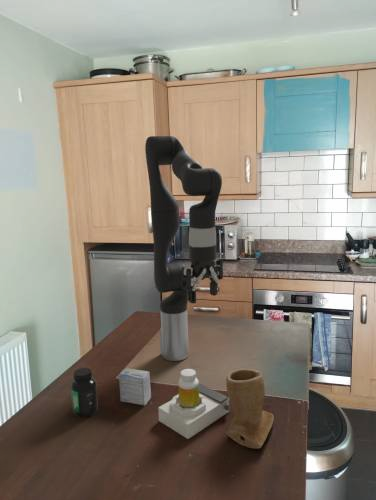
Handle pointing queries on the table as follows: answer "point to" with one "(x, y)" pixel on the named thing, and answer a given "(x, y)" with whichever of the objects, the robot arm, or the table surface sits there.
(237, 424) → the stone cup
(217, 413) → the white recessed base
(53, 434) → the table surface
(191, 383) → the supplement bottle
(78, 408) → the supplement bottle
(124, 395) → the medicine box
